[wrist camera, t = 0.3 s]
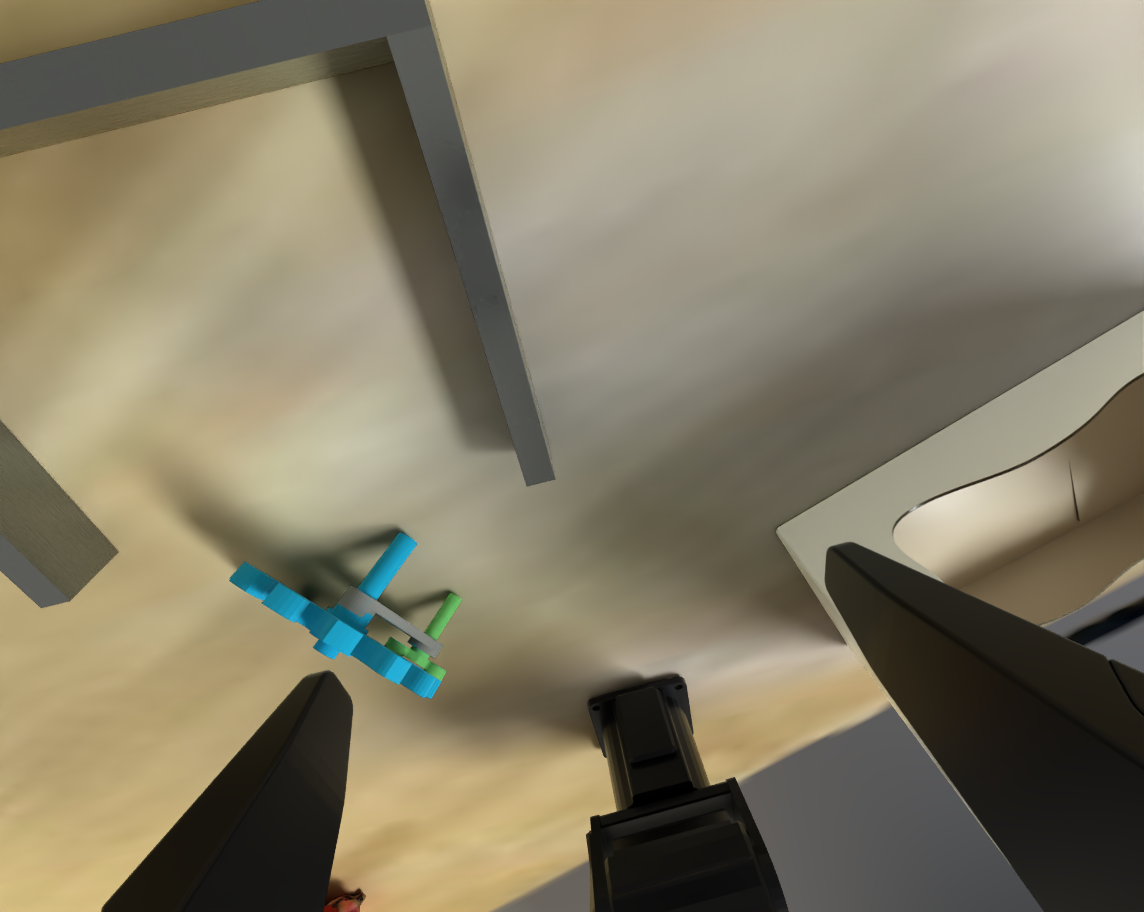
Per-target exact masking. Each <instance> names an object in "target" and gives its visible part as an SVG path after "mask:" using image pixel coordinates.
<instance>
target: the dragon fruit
mask: <svg viewBox="0 0 1144 912" xmlns="http://www.w3.org/2000/svg"><path fill="white" fill-rule="evenodd" d="M365 897H366V895H365V894H364V893H363V892H362V893H361V894H360V895H356V896H351V895H343V896H341V897H339V898H337V899H335V900H332V901H331V902H330V903H329V904H328V905H326V906H325V907H324V911H323V912H360V905H361V903H362V902H363V901H364V899H365Z"/></svg>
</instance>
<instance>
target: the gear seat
mask: <svg viewBox="0 0 1144 912" xmlns="http://www.w3.org/2000/svg"><path fill="white" fill-rule="evenodd" d="M390 62H395V65H396V69H397V72H398V75H399V78H400V81H401V85H402V88H403V91H404V94H405V97H406V101H407V104H408V107H409V110H410V113H411V117H412V120H413V123H414V126H415V130H416V133H417V136H418V139H419V142H420V146H421V149H422V152H423V155H424V158H425V162H426V165H427V168H428V171H429V174H430V178H431V181H432V184H433V187H434V190H435V194H436V197H437V200H438V203H439V207H440V210H441V213H442V216H443V219H444V223H445V226H446V229H447V232H448V235H449V239H450V242H451V245H452V248H453V251H454V255H455V258H456V261H457V264H458V267H459V271H460V274H461V277H462V280H463V284H464V287H465V290H466V293H467V296H468V300H469V303H470V306H471V309H472V312H473V316H474V319H475V322H476V325H477V328H478V332H479V335H480V338H481V341H482V344H483V348H484V351H485V354H486V357H487V361H488V364H489V367H490V370H491V373H492V377H493V380H494V383H495V386H496V389H497V393H498V396H499V399H500V402H501V405H502V409H503V412H504V415H505V418H506V421H507V425H508V428H509V431H510V434H511V438H512V441H513V444H514V447H515V450H516V454H517V457H518V460H519V463H520V466H521V470H522V473H523V476H524V479H525V482H526V486H531V485H535V484H539V483H543V482H547V481H551V480H555V475H554V469H553V464H552V459H551V454H550V448H549V444H548V440H547V436H546V432H545V429H544V425H543V421H542V418H541V414H540V410H539V407H538V403H537V399H536V395H535V392H534V388H533V384H532V381H531V377H530V373H529V369H528V366H527V362H526V358H525V355H524V351H523V347H522V343H521V340H520V336H519V332H518V329H517V325H516V321H515V318H514V314H513V310H512V306H511V303H510V299H509V295H508V292H507V288H506V284H505V280H504V277H503V273H502V269H501V266H500V262H499V258H498V255H497V251H496V247H495V243H494V240H493V236H492V232H491V229H490V225H489V221H488V217H487V214H486V210H485V206H484V203H483V199H482V195H481V191H480V188H479V184H478V180H477V177H476V173H475V169H474V166H473V162H472V158H471V154H470V151H469V147H468V143H467V140H466V136H465V132H464V128H463V125H462V121H461V117H460V114H459V110H458V106H457V103H456V99H455V95H454V91H453V88H452V84H451V80H450V77H449V73H448V69H447V65H446V62H445V58H444V54H443V51H442V47H441V43H440V39H439V36H438V32H437V28H436V25H435V21H434V17H433V14H432V10H431V6H430V2H429V0H262V1H258V2H254V3H250V4H246V5H241V6H237V7H233V8H229V9H225V10H221V11H217V12H212V13H208V14H204V15H200V16H196V17H192V18H188V19H183V20H179V21H175V22H171V23H167V24H163V25H159V26H154V27H150V28H146V29H142V30H138V31H134V32H130V33H126V34H121V35H117V36H113V37H109V38H105V39H101V40H97V41H92V42H88V43H84V44H80V45H76V46H72V47H68V48H63V49H59V50H55V51H51V52H47V53H43V54H39V55H34V56H30V57H26V58H22V59H18V60H14V61H10V62H6V63H1V64H0V157H4V156H8V155H12V154H16V153H20V152H24V151H28V150H32V149H36V148H41V147H45V146H49V145H53V144H57V143H61V142H65V141H69V140H73V139H78V138H82V137H86V136H90V135H94V134H98V133H102V132H106V131H110V130H115V129H119V128H123V127H127V126H131V125H135V124H139V123H143V122H147V121H152V120H156V119H160V118H164V117H168V116H172V115H176V114H180V113H184V112H189V111H193V110H197V109H201V108H205V107H209V106H213V105H217V104H221V103H226V102H230V101H234V100H238V99H242V98H246V97H250V96H254V95H259V94H263V93H267V92H271V91H275V90H279V89H283V88H287V87H291V86H296V85H300V84H304V83H308V82H312V81H316V80H320V79H324V78H328V77H333V76H337V75H341V74H345V73H349V72H353V71H357V70H361V69H365V68H370V67H374V66H378V65H382V64H386V63H390ZM117 553H118V551H117V550H116V549H115V548H114V546H113V545H112V544H111V543H110V542H109V541H108V540H107V539H106V538H105V536H104V535H103V534H102V533H101V532H100V531H99V530H98V529H97V528H96V526H95V525H94V524H93V523H92V522H91V521H90V520H89V519H88V518H87V516H86V515H85V514H84V513H83V512H82V511H81V510H80V509H79V508H78V506H77V505H76V504H75V503H74V502H73V501H72V500H71V499H70V498H69V496H68V495H67V494H66V493H65V492H64V491H63V490H62V489H61V488H60V486H59V485H58V484H57V483H56V482H55V481H54V480H53V479H52V478H51V476H50V475H49V474H48V473H47V472H46V471H45V470H44V469H43V468H42V466H41V465H40V464H39V463H38V462H37V461H36V460H35V459H34V458H33V456H32V455H31V454H30V453H29V452H28V451H27V450H26V449H25V448H24V446H23V445H22V444H21V443H20V442H19V441H18V440H17V439H16V438H15V436H14V435H13V434H12V433H11V432H10V431H9V430H8V429H7V428H6V426H5V425H4V424H3V423H2V422H1V421H0V571H1V572H2V573H3V574H4V575H5V576H7V577H8V578H9V579H10V580H11V581H12V582H13V583H14V584H15V585H16V586H17V587H19V588H20V589H21V590H22V591H23V592H24V593H25V594H26V595H27V596H28V597H29V598H31V599H32V600H33V601H34V602H35V603H36V604H37V605H38V606H39V607H40V608H44V607H48V606H52V605H56V604H60V603H64V602H68V601H71V600H72V599H73V598H74V597H75V596H76V595H77V594H78V593H79V592H80V590H81V589H82V588H83V587H84V586H85V585H86V584H87V583H88V582H89V581H90V580H91V579H92V578H93V577H94V576H95V575H96V574H97V573H98V572H99V571H100V570H101V569H102V568H103V567H104V566H105V565H106V564H107V563H108V562H109V561H110V560H111V559H112V558H113V557H114V556H115V555H116V554H117Z"/></svg>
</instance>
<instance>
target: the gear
mask: <svg viewBox="0 0 1144 912" xmlns="http://www.w3.org/2000/svg"><path fill="white" fill-rule="evenodd" d="M416 545H417V543H416V542H415V541H414V540H413V539H411V538H410V537H409V536H407V535H405V534H403V533H400V532H399V533H398V535H397V536H396V537H395V539H394V540H393V541H392V543H391V544H390V545H389V547H388V548H387V549H386V551H385V552H384V553H383V555H382V556H381V557H380V559H379V560H378V561H377V563H376V564H375V565H374V567H373V568H372V569H371V571H370V572H369V573H368V575H367V576H366V577H365V579H364V580H363V581H362V583H361V584H360V585H359V587H358V588H355V587H353V586H350V587H349V589H348V590H347V591H346V592H345V594H344V595H343V596H342V598H341V599H340V600H339V602H338V603H337V604H336V606H335V607H334V608H333V609H332V608H330V607H328V608H327V610H324V609H323V608H321V607H320V606H318V605H316V604H315V603H313V602H312V601H310V600H308V599H307V598H305V597H303V596H302V595H300V594H298V593H297V592H295V591H293V590H291V589H290V588H288V587H287V586H285V585H283V584H282V583H280V582H278V581H277V580H275V579H274V578H272V577H270V576H269V575H267V574H265V573H264V572H261V571H260V570H258V569H257V568H255V567H253V566H252V565H250V564H248V563H247V562H244V563H243V564H242V565H241V566H240V567H239V568H238V569H237V571H236V572H235V573H234V574H233V575H232V576H231V577H230V580H229V581H230V582H232V583H233V584H235V585H236V586H237V587H239V588H241V589H242V590H244V591H245V592H247V593H249V594H251V595H252V596H254V597H256V598H258V599H261V600H263V602H262V604H263V605H265V606H267V607H268V608H270V609H271V610H273V611H275V612H276V613H278V614H280V615H281V616H283V617H285V618H286V619H288V620H290V621H292V622H295V621H296V622H298V623H300V624H302V625H303V626H305V627H306V628H308V629H309V630H310V632H309V633H311V634H312V635H313V636H315V637H316V638H318V639H319V640H318V641H317V643H316V644H315V645H314V647H313V648H314V649H316V650H317V651H319V652H320V653H322V654H324V655H325V656H327V657H329V658H331V659H333V660H334V659H335V657H336V656H337V654H338V653H339V652H341V653H343V654H345V655H347V656H349V657H351V655H352V656H354V657H355V658H357V659H358V660H360V661H361V662H363V663H364V664H366V665H367V666H368V667H370V668H371V669H372V670H374V671H375V672H377V673H378V674H380V675H381V676H383V677H385V678H387V679H389V680H390V681H392V682H394V683H396V684H402V685H403V686H405V687H406V688H408V689H410V690H411V691H413V692H414V693H416V694H418V695H419V696H421V697H423V698H425V697H428V698H430V699H431V698H432V696H433V695H434V693H435V692H436V690H437V688H438V687H439V685H440V683H441V680H442V679H443V677H444V675H445V674H446V672H447V671H445V670H444V669H442V668H440V667H439V666H437V665H436V664H434V663H432V662H431V661H429V660H427V659H428V658H429V656H431V657H432V658H434V659H435V658H436V657H437V655H438V654H439V652H440V650H441V649H442V647H443V645H441V644H440V643H438V642H437V641H436V640H437V639H438V637H439V635H440V634H441V632H442V631H443V629H444V628H445V626H446V624H447V623H448V621H449V620H450V618H451V617H452V615H453V613H454V612H455V610H456V609H457V607H458V606H459V604H460V602H461V601H462V599H461V598H459V597H458V596H456V595H455V594H453V593H450V594H449V595H448V597H447V598H446V600H445V602H444V603H443V605H442V606H441V608H440V609H439V611H438V612H437V614H436V615H435V617H434V618H433V620H432V621H431V623H430V625H429V626H428V628H427V629H426V631H425V632H422V631H421V630H419V629H418V628H416V627H415V626H413V625H412V624H410V623H409V622H407V621H406V620H404V619H403V618H401V617H400V616H398V615H397V614H395V613H394V612H392V611H391V610H389V609H388V608H386V607H385V606H383V605H382V604H381V603H379V602H378V601H376V600H377V599H378V598H379V596H380V595H381V594H382V592H383V591H384V589H385V588H386V587H387V585H388V584H389V582H390V581H391V580H392V578H393V577H394V576H395V574H396V573H397V571H398V570H399V569H400V567H401V566H402V564H403V563H404V562H405V560H406V559H407V558H408V556H409V555H410V553H411V552H412V551H413V549H414V548H415V546H416ZM375 614H376V615H378V616H379V617H381V618H382V619H384V620H385V621H387V622H389V623H390V624H392V625H393V626H395V627H396V628H398V629H399V630H401V631H402V632H404V633H405V634H407V635H409V636H410V639H409V640H408V643H410V644H411V645H413V646H412V647H411V649H410V648H408V647H406V646H405V645H403V644H402V643H400V642H398V641H397V640H395V639H393V638H392V637H390V638H389V640H388V641H387V643H386V644H385V646H384V645H382V644H380V643H379V642H377V641H376V640H374V639H372V638H370V637H369V636H367V635H366V634H367V633H368V630H366V629H365V627H366V626H367V625H368V623H369V622H370V620H371V619H372V618H373V616H374V615H375ZM402 656H405V657H406V658H408V659H410V660H411V661H413V662H415V663H416V664H418V665H420V666H421V667H423V668H424V670H423V669H421V668H419V667H418V666H416V665H414V664H413V663H411V662H410V661H408V660H406V659H405V658H403V657H402Z"/></svg>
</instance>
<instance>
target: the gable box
mask: <svg viewBox="0 0 1144 912" xmlns="http://www.w3.org/2000/svg"><path fill="white" fill-rule="evenodd" d="M776 533H777V535H778V537H779V538H780V540H781V541H782V543H783V544H784V546H785V548H786V549H787V551H788V552H789V554H790V555H791V557H792V559H793V560H794V562H795V563H796V565H797V566H798V568H799V570H800V571H801V573H802V574H803V576H804V577H805V579H806V581H807V582H808V584H809V585H810V587H811V588H812V590H813V591H814V593H815V595H816V596H817V598H818V599H819V601H820V602H821V604H822V606H823V607H824V609H825V610H826V612H827V613H828V615H829V617H830V618H831V620H832V621H833V623H834V624H835V626H836V628H837V629H838V631H839V632H840V634H841V635H842V637H843V639H844V640H845V642H846V643H847V645H848V646H849V648H850V649H851V651H852V652H853V653H854V655H855V656H856V657H857V659H858V660H859V661H860V663H861V664H862V665H863V667H864V668H865V669H866V671H867V672H868V674H869V675H870V676H871V678H872V679H873V680H874V682H875V683H876V684H877V686H878V687H879V688H880V690H881V691H882V692H883V694H884V695H885V696H886V698H887V699H888V700H889V702H890V703H891V705H892V706H893V707H894V708H895V710H896V711H897V712H898V714H899V715H900V716H901V718H902V719H903V721H904V722H905V723H906V725H907V726H908V727H909V729H910V730H911V732H912V733H913V734H914V735H915V737H916V738H917V739H918V741H919V742H920V744H921V745H922V746H923V747H924V749H925V750H926V752H927V753H928V754H929V756H930V757H931V758H932V760H933V761H934V763H935V764H936V765H937V767H938V768H939V769H940V771H941V772H942V773H943V775H944V776H945V777H946V779H947V780H948V781H949V783H950V784H951V785H952V787H953V788H954V789H955V790H956V792H957V794H958V795H959V796H960V798H961V799H962V800H963V802H964V803H965V804H966V806H967V807H968V808H969V810H970V811H971V812H972V814H973V815H974V816H975V814H974V813H973V811H972V810H971V809H970V807H969V806H968V804H967V803H966V802H965V800H964V799H963V797H962V796H961V795H960V793H959V792H958V790H957V789H956V788H955V786H954V785H953V783H952V782H951V781H950V779H949V778H948V776H947V775H946V774H945V772H944V771H943V769H942V768H941V766H940V765H939V764H938V762H937V761H936V759H935V758H934V757H933V755H932V754H931V752H930V751H929V750H928V748H927V747H926V745H925V744H924V743H923V741H922V740H921V738H920V737H919V736H918V734H917V733H916V731H915V730H914V729H913V727H912V726H911V724H910V723H909V722H908V720H907V719H906V717H905V716H904V715H903V713H902V712H901V710H900V709H899V707H898V706H897V705H896V703H895V702H894V700H893V699H892V698H891V696H890V695H889V693H888V692H887V691H886V689H885V688H884V686H883V685H882V684H881V682H880V681H879V679H878V678H877V676H876V675H875V673H874V672H873V670H872V669H871V667H870V665H869V664H868V662H867V660H866V659H865V657H864V655H863V653H862V652H861V650H860V648H859V646H858V645H857V643H856V641H855V639H854V638H853V636H852V634H851V632H850V631H849V629H848V627H847V625H846V623H845V622H844V620H843V618H842V616H841V615H840V613H839V611H838V609H837V608H836V606H835V604H834V602H833V601H832V599H831V597H830V595H829V593H828V591H827V589H826V586H825V580H824V577H825V562H826V551H827V549H828V548H829V547H830V546H833V545H837V544H841V543H845V542H854V543H857V544H859V545H861V546H864V547H866V548H868V549H870V550H872V551H875V552H877V553H879V554H881V555H883V556H886V557H888V558H890V559H892V560H894V561H897V562H899V563H901V564H903V565H906V566H908V567H910V568H912V569H914V570H917V571H919V572H921V573H923V574H925V575H928V576H930V577H932V578H934V579H936V580H939V581H941V582H943V583H945V584H948V585H950V586H952V587H954V588H956V589H959V590H961V591H963V592H965V593H967V594H970V595H972V596H974V597H976V598H978V599H981V600H983V601H985V602H987V603H990V604H992V605H994V606H996V607H998V608H1001V609H1003V610H1005V611H1007V612H1009V613H1012V614H1014V615H1016V616H1018V617H1020V618H1023V619H1025V620H1027V621H1029V622H1031V623H1034V624H1036V625H1038V626H1041V625H1044V624H1047V623H1050V622H1053V621H1055V620H1058V619H1060V618H1062V617H1065V616H1067V615H1069V614H1071V613H1073V612H1075V611H1077V610H1079V609H1081V608H1083V607H1084V606H1086V605H1087V604H1089V603H1090V602H1091V601H1093V600H1094V599H1095V598H1097V597H1098V596H1099V595H1100V594H1101V593H1102V592H1104V591H1105V590H1106V589H1107V588H1108V587H1109V586H1110V585H1111V584H1112V583H1114V582H1115V581H1116V580H1117V579H1118V578H1119V577H1120V576H1121V575H1123V574H1124V573H1125V572H1126V571H1127V570H1129V569H1130V568H1131V567H1133V566H1134V565H1136V564H1137V563H1139V562H1140V561H1142V560H1144V310H1143V311H1142V312H1140V313H1138V314H1137V315H1135V316H1133V317H1132V318H1130V319H1128V320H1127V321H1125V322H1123V323H1122V324H1120V325H1118V326H1116V327H1115V328H1113V329H1111V330H1110V331H1108V332H1106V333H1105V334H1103V335H1101V336H1100V337H1098V338H1096V339H1095V340H1093V341H1091V342H1090V343H1088V344H1086V345H1084V346H1083V347H1081V348H1079V349H1078V350H1076V351H1074V352H1073V353H1071V354H1069V355H1068V356H1066V357H1064V358H1063V359H1061V360H1059V361H1058V362H1056V363H1054V364H1052V365H1051V366H1049V367H1047V368H1046V369H1044V370H1042V371H1041V372H1039V373H1037V374H1036V375H1034V376H1032V377H1031V378H1029V379H1027V380H1026V381H1024V382H1022V383H1020V384H1019V385H1017V386H1015V387H1014V388H1012V389H1010V390H1009V391H1007V392H1005V393H1004V394H1002V395H1000V396H999V397H997V398H995V399H994V400H992V401H990V402H988V403H987V404H985V405H983V406H982V407H980V408H978V409H977V410H975V411H973V412H972V413H970V414H968V415H967V416H965V417H963V418H962V419H960V420H958V421H956V422H955V423H953V424H951V425H950V426H948V427H946V428H945V429H943V430H941V431H940V432H938V433H936V434H935V435H933V436H931V437H930V438H928V439H926V440H924V441H923V442H921V443H919V444H918V445H916V446H914V447H913V448H911V449H909V450H908V451H906V452H904V453H903V454H901V455H899V456H898V457H896V458H894V459H892V460H891V461H889V462H887V463H886V464H884V465H882V466H881V467H879V468H877V469H876V470H874V471H872V472H871V473H869V474H867V475H866V476H864V477H862V478H860V479H859V480H857V481H855V482H854V483H852V484H850V485H849V486H847V487H845V488H844V489H842V490H840V491H839V492H837V493H835V494H833V495H832V496H830V497H828V498H827V499H825V500H823V501H822V502H820V503H818V504H817V505H815V506H813V507H812V508H810V509H808V510H807V511H805V512H803V513H801V514H800V515H798V516H796V517H795V518H793V519H791V520H790V521H788V522H786V523H785V524H783V525H781V526H780V527H778V529H777V531H776ZM975 818H976V819H977V820H978V818H977V817H976V816H975ZM978 822H979V823H980V821H979V820H978ZM980 824H981V823H980ZM981 826H982V827H983V825H982V824H981ZM983 829H984V830H985V828H984V827H983ZM985 831H986V830H985ZM986 833H987V831H986ZM987 834H988V833H987ZM988 835H989V834H988ZM989 837H990V835H989ZM990 838H991V837H990ZM991 839H992V838H991ZM992 841H993V840H992ZM993 842H994V841H993ZM994 843H995V842H994ZM995 845H996V844H995ZM996 846H997V845H996ZM997 848H998V847H997ZM998 849H999V848H998ZM999 850H1000V849H999ZM1000 852H1001V851H1000ZM1001 853H1002V852H1001ZM1003 856H1004V855H1003ZM1004 857H1005V856H1004ZM1006 860H1007V859H1006Z"/></svg>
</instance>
